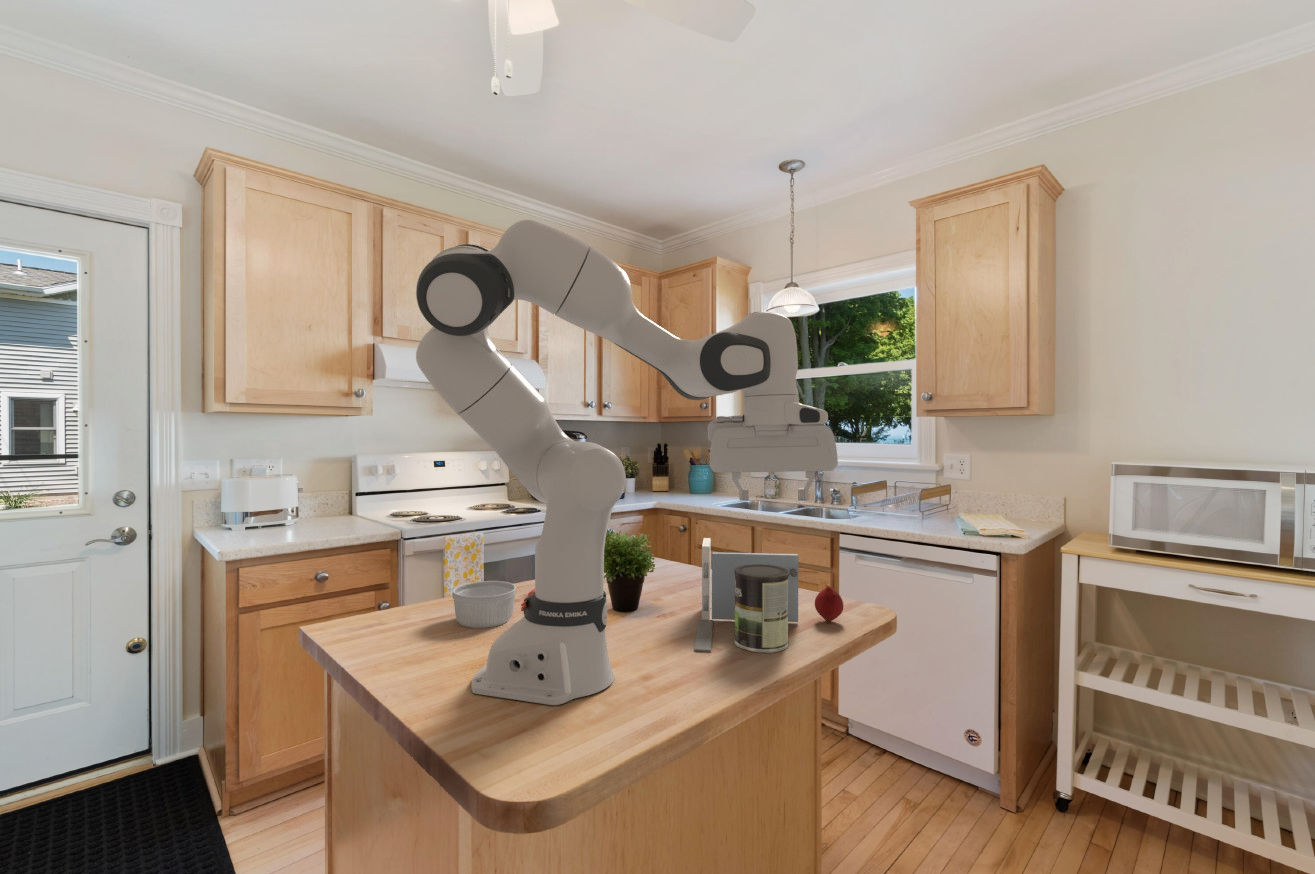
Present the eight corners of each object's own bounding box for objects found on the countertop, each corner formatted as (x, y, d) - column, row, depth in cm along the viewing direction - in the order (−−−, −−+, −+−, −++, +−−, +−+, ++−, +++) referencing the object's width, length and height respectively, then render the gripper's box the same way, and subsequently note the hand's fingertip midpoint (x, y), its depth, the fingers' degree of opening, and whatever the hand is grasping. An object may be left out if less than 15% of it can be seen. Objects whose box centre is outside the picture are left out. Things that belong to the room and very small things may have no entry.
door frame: (694, 651, 114) (694, 564, 114) (700, 607, 142) (700, 537, 141) (710, 651, 114) (710, 565, 113) (713, 608, 141) (713, 538, 141)
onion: (840, 617, 134) (840, 581, 134) (845, 626, 128) (845, 588, 128) (812, 617, 135) (812, 580, 134) (817, 625, 129) (817, 587, 129)
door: (711, 621, 130) (711, 554, 130) (711, 617, 133) (712, 552, 133) (798, 624, 128) (799, 556, 128) (797, 620, 131) (797, 554, 131)
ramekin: (526, 623, 131) (525, 590, 131) (463, 634, 123) (463, 600, 123) (503, 608, 142) (503, 577, 142) (444, 618, 134) (444, 586, 134)
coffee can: (733, 651, 114) (733, 575, 114) (734, 633, 124) (734, 563, 124) (790, 654, 112) (791, 577, 112) (787, 635, 123) (787, 564, 122)
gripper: (704, 416, 99) (707, 502, 99) (837, 411, 95) (840, 501, 95) (709, 416, 105) (711, 498, 105) (834, 412, 101) (836, 497, 101)
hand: (773, 499), depth 100 cm, fingers open, 8 cm apart
